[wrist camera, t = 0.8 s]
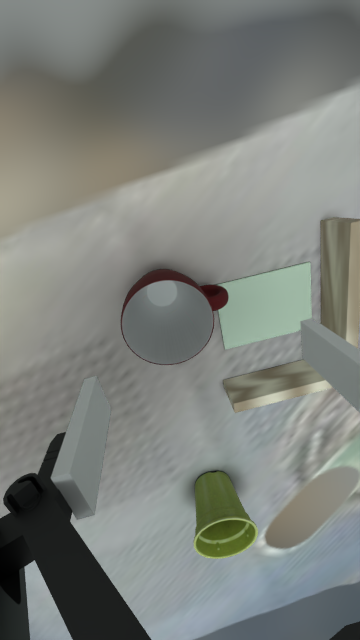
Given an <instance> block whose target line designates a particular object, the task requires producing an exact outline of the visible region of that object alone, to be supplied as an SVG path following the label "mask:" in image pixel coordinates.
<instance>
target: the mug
mask: <svg viewBox="0 0 360 640" xmlns="http://www.w3.org/2000/svg"><path fill="white" fill-rule="evenodd" d="M228 298H229V296H228V292H227V290H226V289H225V288H224V287H222V286H219V285H204V286H199V285H198V284H197V283H195V282H194V281H193V280H192V279H190V278H189V277H187V276H185V275H183V274H181V273H178V272H176V271H173V270H168V269H159V270H155V271H152V272H150V273H148V274H146V275H145V276H143V277H142V278H141V279H140V280H139V281H138V282H137V283H136V284H135V285H134V286H133V287H132V288H131V290H130V291H129V293H128V295H127V297H126V299H125V302H124V305H123V309H122V315H121V330H122V335H123V338H124V340H125V342H126V344H127V345H128V347H129V348H130V349H131V350H132V351H133V352H134V353H135V354H136V355H137V356H138V357H140V358H142V359H143V360H145V361H148V362H150V363H154V364H159V365H173V364H178V363H182V362H185V361H187V360H189V359H191V358H193V357H194V356H196V355H197V354H198V353H199V352H200V351H201V350H202V349H203V348H204V347H205V346H206V344H207V343H208V341H209V340H210V337H211V335H212V332H213V328H214V314H213V311H216V310H219V309H221V308H223V307H224V306H225V305H226V304H227V302H228Z"/></svg>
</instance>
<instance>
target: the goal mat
mask: <svg viewBox="0 0 360 640" xmlns="http://www.w3.org/2000/svg"><path fill="white" fill-rule="evenodd" d="M217 285H219V286H222V287H224V288H225V289H226V290H227V292H228V296H229V298H228V302H227V304H226V305H225V306H224V307H223V308H221V309H219V310H218V313H219V319H220V325H221V331H222V337H223V342H224V348H225V350H226V349H230V348H234V347H237V346H241V345H245V344H249V343H253V342H257V341H261V340H265V339H269V338H273V337H277V336H281V335H285V334H289V333H293V332H297V331H301V323H300V321H303V320H307V319H311V318H312V317H311V265H310V262H306V263H302V264H298V265H294V266H290V267H286V268H282V269H278V270H274V271H270V272H266V273H262V274H257V275H253V276H249V277H245V278H241V279H237V280H233V281H229V282H225V283H221V284H217Z"/></svg>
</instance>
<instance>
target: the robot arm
mask: <svg viewBox="0 0 360 640" xmlns="http://www.w3.org/2000/svg"><path fill="white" fill-rule="evenodd" d="M300 323H301V342H302V358H303V359H304V360H305V361H306V362H307V363H308V364H309V365H310V366H311V367H312V368H314V369H315V370H316V371H317V372H318V373H319V374H320V375H321V376H322V377H323V378H324V379H325V380H326V381H327V382H328V383H329V384H330V385H331V386H332V387H333V388H334V389H335V390H337V391H338V392H339V393H340V394H341V395H342V396H343V397H344V398H345V399H346V400H347V401H348V402H349V403H350V404H351V405H352V406H353V407H354V408H355V409H356V410H357V411H358V412H360V350H359V349H358V348H356V347H355V346H353V345H352V344H350V343H349V342H347V341H346V340H344V339H343V338H341V337H340V336H338V335H337V334H335V333H334V332H332V331H331V330H329V329H328V328H326V327H325V326H323V325H322V324H320V323H319V322H317V321H316V320H314V319H313V318H311V319H307V320H303V321H300ZM110 415H111V408H110V405H109V403H108V401H107V398H106V396H105V394H104V392H103V389H102V387H101V385H100V382H99V380H98V378H97V376H94V377H90V378H86V379H84V382H83V385H82V388H81V391H80V394H79V397H78V399H77V402H76V405H75V408H74V411H73V414H72V417H71V420H70V423H69V426H68V429H67V432H64V433H60V434H57V435H56V436H55V438H54V439H53V440H52V442H51V443H50V445H49V447H48V450H47V452H46V453H47V454H46V455H45V458H44V462H43V463H42V465H41V468H40V470H39V473H38V475H37V474H35V473H29V474H27V475H24V476H22V477H20V478H19V479H17V480H16V481H15V482H14V483H13V484H12V485H11V486H10V487H9V489H8V490H7V491H6V493H5V496H4V498H3V500H4V505H5V506H6V507H7V508H8V510H9V511H10V512H11V513H9V514H7V515H6V516H4V517H2V518H0V640H30V633H29V621H28V608H27V595H26V582H25V569H24V567H25V566H26V565H28V564H29V563H31V562H32V561H34V560H35V561H36V564H37V566H38V568H39V570H40V572H41V574H42V576H43V578H44V580H45V582H46V584H47V587H48V589H49V591H50V593H51V595H52V597H53V599H54V601H55V603H56V605H57V608H58V610H59V612H60V614H61V616H62V618H63V620H64V622H65V624H66V626H67V629H68V631H69V633H70V635H71V637H72V639H73V640H151V639H150V637H149V636H148V634H147V633H146V631H145V630H144V628H143V627H142V625H141V624H140V623H139V621H138V620H137V618H136V617H135V615H134V614H133V612H132V611H131V609H130V608H129V607H128V605H127V604H126V602H125V601H124V599H123V598H122V596H121V595H120V594H119V592H118V591H117V589H116V588H115V586H114V585H113V583H112V582H111V580H110V579H109V578H108V576H107V575H106V573H105V572H104V570H103V569H102V567H101V566H100V564H99V563H98V562H97V560H96V559H95V557H94V556H93V554H92V553H91V551H90V550H89V549H88V547H87V546H86V544H85V543H84V541H83V540H82V538H81V537H80V535H79V534H78V533H77V531H76V530H75V528H74V527H73V525H72V524H71V522H70V519H71V515H72V512H73V514H74V516H75V517H76V519H77V520H78V519H82V518H85V517H89V516H92V515H95V508H96V502H97V496H98V490H99V483H100V477H101V471H102V465H103V458H104V452H105V446H106V440H107V433H108V427H109V421H110ZM330 640H360V622H357V623H353V624H350V625H346V626H345V627H344V628H342V629H341V630H340V631H339V632H338V633H337V634H336V635H334V636H333V637H332V638H331V639H330Z"/></svg>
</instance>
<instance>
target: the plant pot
mask: <svg viewBox="0 0 360 640" xmlns="http://www.w3.org/2000/svg"><path fill="white" fill-rule="evenodd" d="M195 499H196V523H197V526H196V531H195V532H196V535H195V537H194V548H195V550H196V552H197V553H198V554H200V555H202V556H204V557H207V558H212V559H218V558H227V557H231V556H234V555H236V554H239V553H241V552H243V551H244V550H246V549H247V548H249V547H250V546H251V545H252V544H253V543H254V542H255V540H256V538H257V535H258V529H257V526H256V524H255V523H254V522H253V521H252V520H251V519H250V517H249V516H248V514H247V513H246V512H245V510H244V508H243V506H242V504H241V502H240V500H239V498H238V496H237V493H236V491H235V489H234V487H233V485H232V483H231V480H230V478H229V477H228V475H227V474H225V473H223V472H220V471H217V472H215V473H210V472H208V473H205V474H203V475H202V476H201V477H199V478H198V480H197V481H196V484H195Z"/></svg>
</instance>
